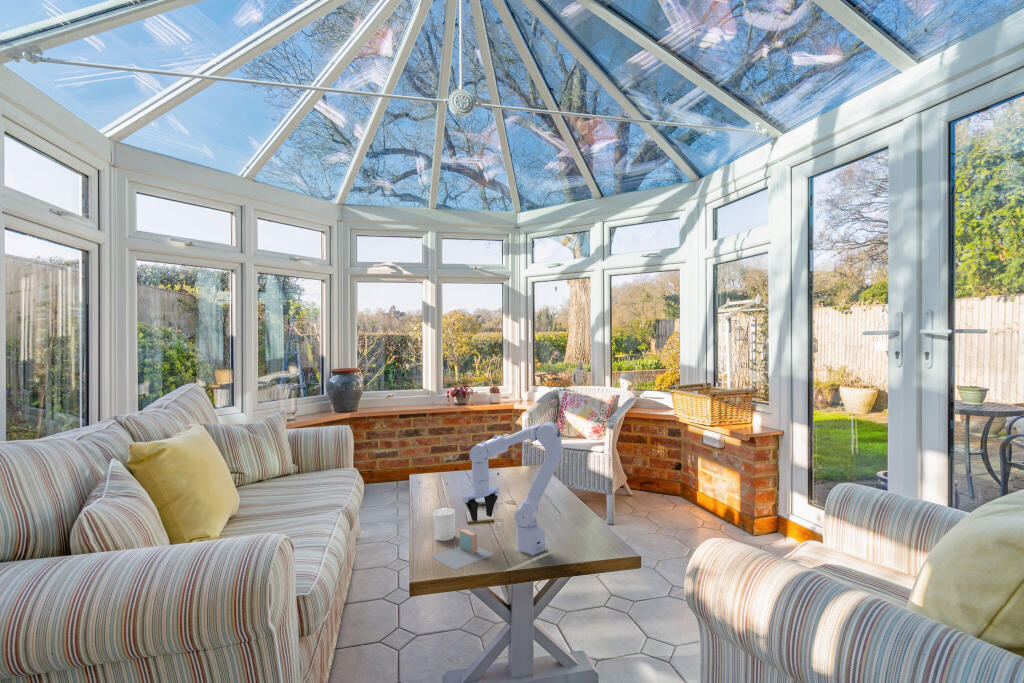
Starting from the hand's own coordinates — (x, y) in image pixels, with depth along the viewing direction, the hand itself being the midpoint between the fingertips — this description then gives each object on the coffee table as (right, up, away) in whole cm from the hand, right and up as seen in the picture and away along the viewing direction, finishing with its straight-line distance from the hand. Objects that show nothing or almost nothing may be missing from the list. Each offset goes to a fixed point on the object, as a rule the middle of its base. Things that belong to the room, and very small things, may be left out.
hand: (481, 518), depth 170 cm
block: (-4, -9, -4) cm, 11 cm away
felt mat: (-6, -10, -8) cm, 14 cm away
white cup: (-14, -11, +8) cm, 20 cm away
